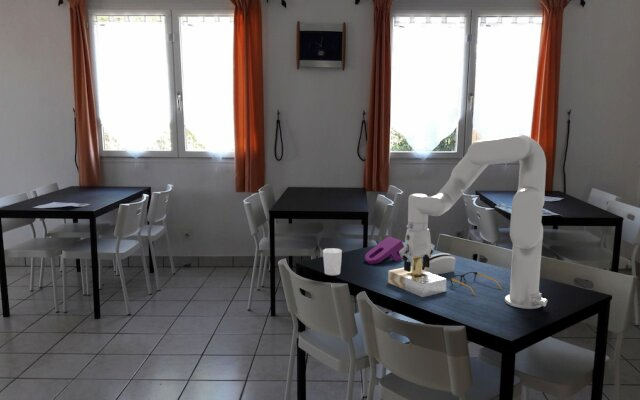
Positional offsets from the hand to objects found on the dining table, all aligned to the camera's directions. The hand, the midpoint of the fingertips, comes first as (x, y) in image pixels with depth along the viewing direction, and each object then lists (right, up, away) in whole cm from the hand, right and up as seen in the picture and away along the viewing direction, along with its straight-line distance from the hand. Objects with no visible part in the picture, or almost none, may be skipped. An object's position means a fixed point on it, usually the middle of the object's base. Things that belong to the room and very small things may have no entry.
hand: (416, 268), depth 203 cm
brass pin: (0, -7, +1) cm, 7 cm away
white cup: (-32, -5, +20) cm, 38 cm away
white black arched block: (+12, -5, +18) cm, 22 cm away
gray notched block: (+3, -8, -3) cm, 9 cm away
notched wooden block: (-3, -7, +5) cm, 9 cm away
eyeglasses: (+23, -8, 0) cm, 24 cm away
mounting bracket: (-9, -1, +38) cm, 39 cm away
